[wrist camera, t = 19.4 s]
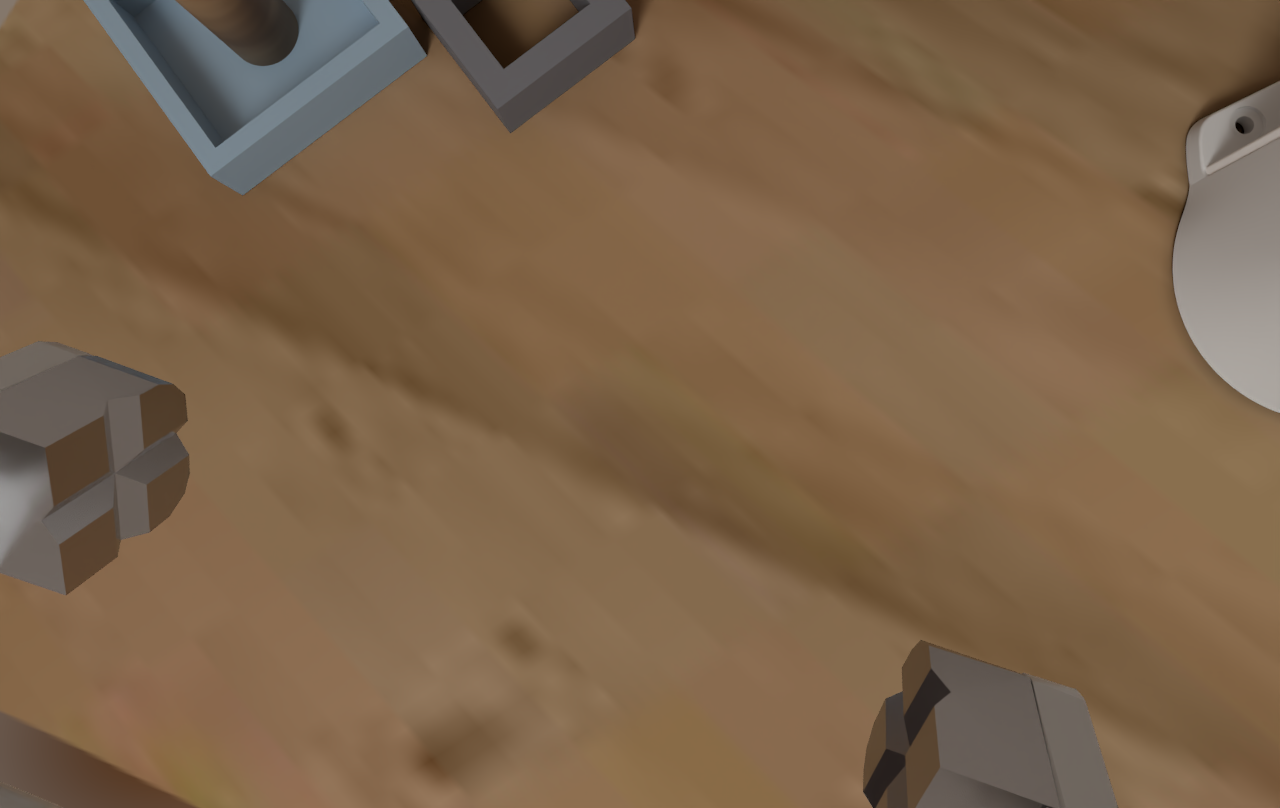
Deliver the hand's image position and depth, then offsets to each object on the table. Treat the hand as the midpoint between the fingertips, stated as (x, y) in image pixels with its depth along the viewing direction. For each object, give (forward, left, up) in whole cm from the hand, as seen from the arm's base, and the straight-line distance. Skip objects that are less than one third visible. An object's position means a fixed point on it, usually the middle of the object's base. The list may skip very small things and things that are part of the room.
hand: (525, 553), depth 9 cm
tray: (+2, -30, -33) cm, 45 cm away
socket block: (-9, -22, -33) cm, 41 cm away
